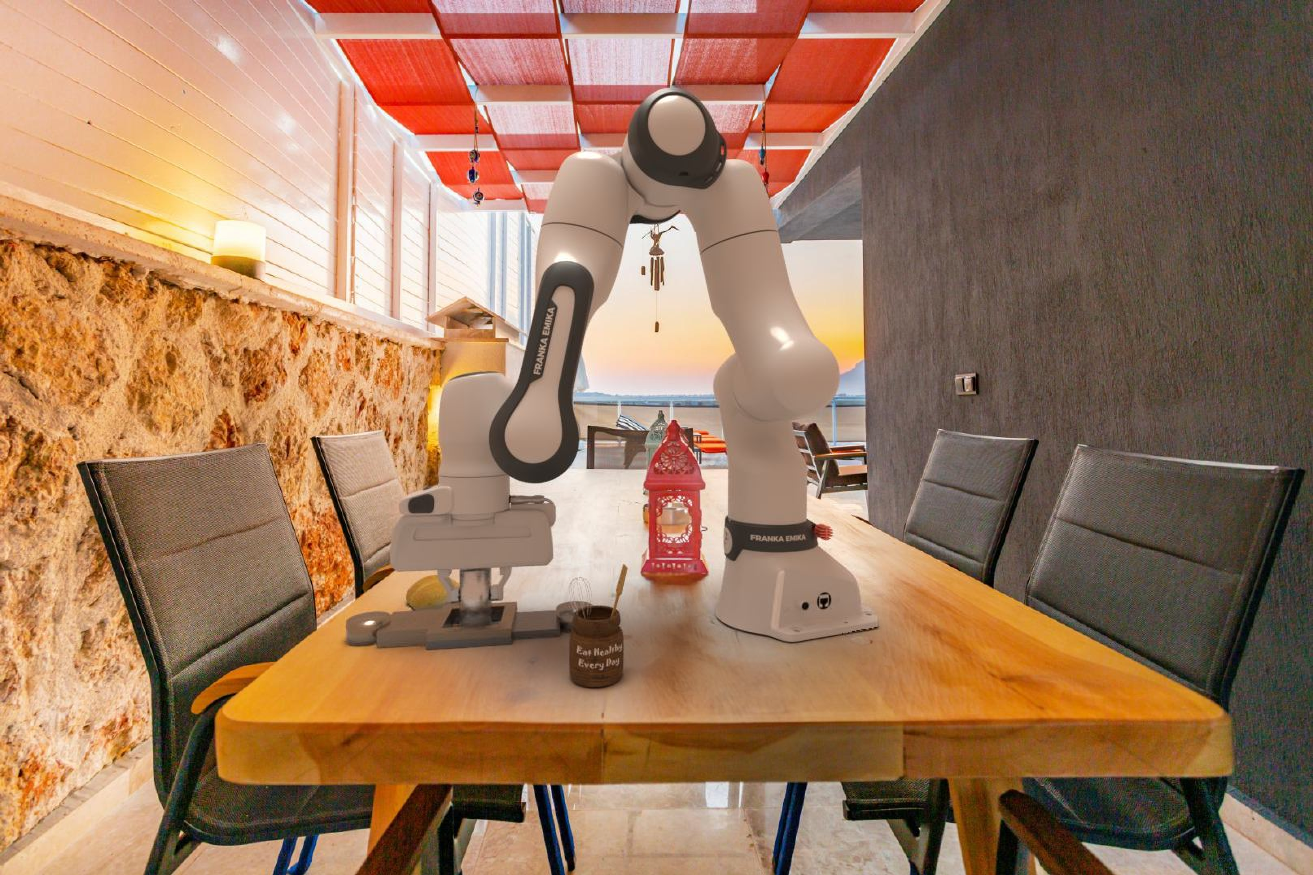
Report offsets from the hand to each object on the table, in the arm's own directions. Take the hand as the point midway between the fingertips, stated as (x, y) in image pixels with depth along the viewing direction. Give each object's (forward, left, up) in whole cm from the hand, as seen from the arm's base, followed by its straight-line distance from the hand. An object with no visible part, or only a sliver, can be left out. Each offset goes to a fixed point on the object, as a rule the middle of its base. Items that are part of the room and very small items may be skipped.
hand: (475, 600), depth 71 cm
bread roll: (+8, -13, -4) cm, 16 cm away
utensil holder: (-15, +15, -4) cm, 22 cm away
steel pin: (0, 0, -4) cm, 4 cm away
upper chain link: (+5, 0, -4) cm, 7 cm away
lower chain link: (-5, 0, -4) cm, 7 cm away
